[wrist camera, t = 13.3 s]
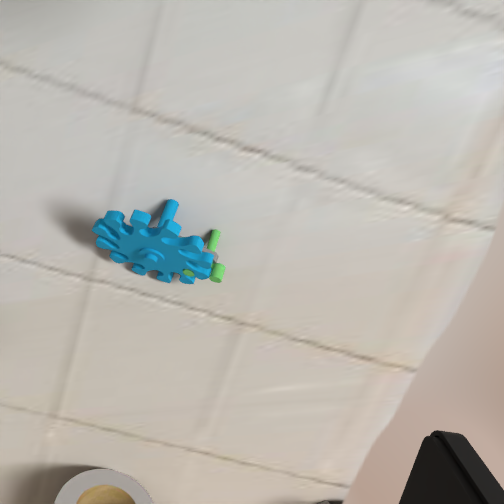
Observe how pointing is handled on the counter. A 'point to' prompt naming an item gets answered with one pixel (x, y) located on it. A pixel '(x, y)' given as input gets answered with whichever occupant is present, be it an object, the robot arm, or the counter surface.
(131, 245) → the gear
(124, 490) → the toilet paper
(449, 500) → the robot arm
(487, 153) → the counter surface
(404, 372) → the counter surface
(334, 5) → the counter surface
